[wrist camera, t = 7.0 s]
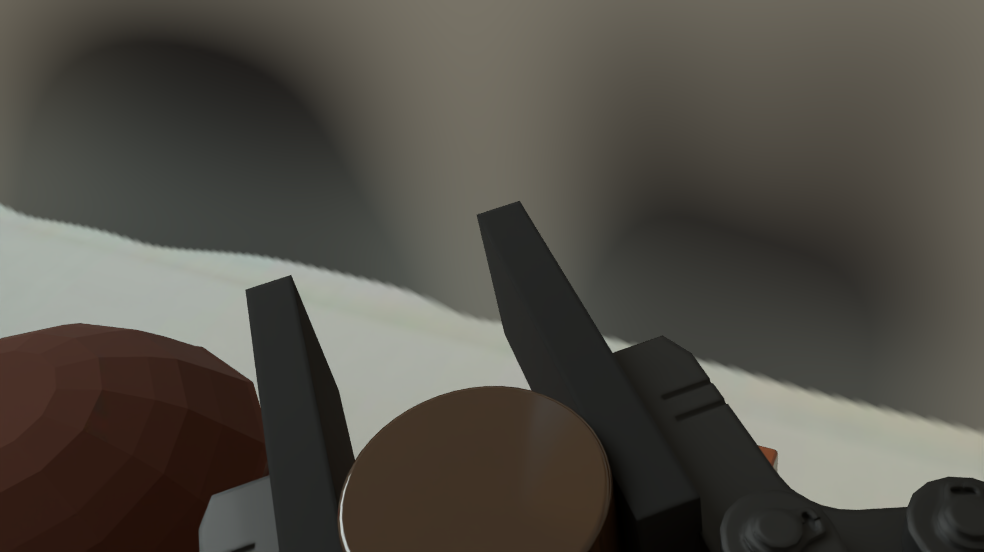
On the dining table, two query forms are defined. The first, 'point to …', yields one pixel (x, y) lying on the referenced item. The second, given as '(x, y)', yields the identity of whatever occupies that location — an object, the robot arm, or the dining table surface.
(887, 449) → the dining table surface
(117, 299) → the dining table surface
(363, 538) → the lid
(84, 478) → the muffin
